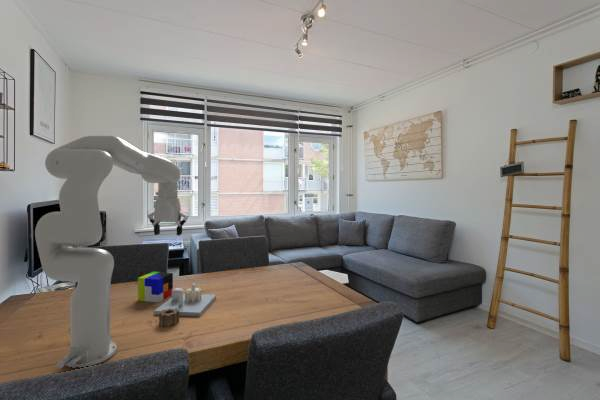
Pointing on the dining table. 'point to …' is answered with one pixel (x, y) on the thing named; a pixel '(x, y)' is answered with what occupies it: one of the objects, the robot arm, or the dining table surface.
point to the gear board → (187, 302)
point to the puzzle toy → (155, 286)
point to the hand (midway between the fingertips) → (168, 234)
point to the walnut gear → (169, 317)
